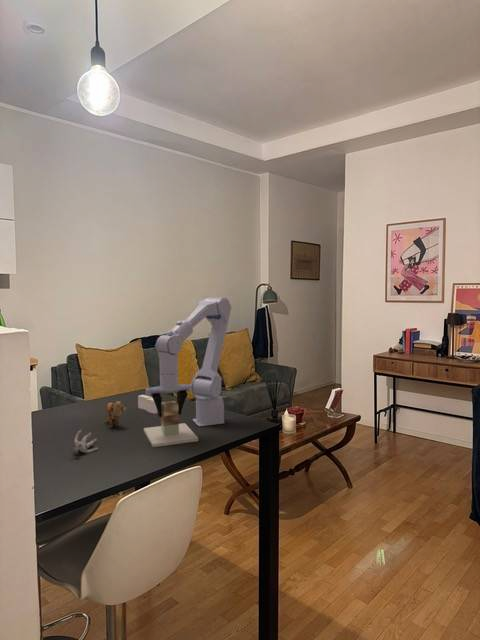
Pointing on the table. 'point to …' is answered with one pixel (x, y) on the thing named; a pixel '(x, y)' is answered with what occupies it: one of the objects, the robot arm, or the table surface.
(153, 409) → the beige rectangular block
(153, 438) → the board
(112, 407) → the lion figurine
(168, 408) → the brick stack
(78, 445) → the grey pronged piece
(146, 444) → the table surface
